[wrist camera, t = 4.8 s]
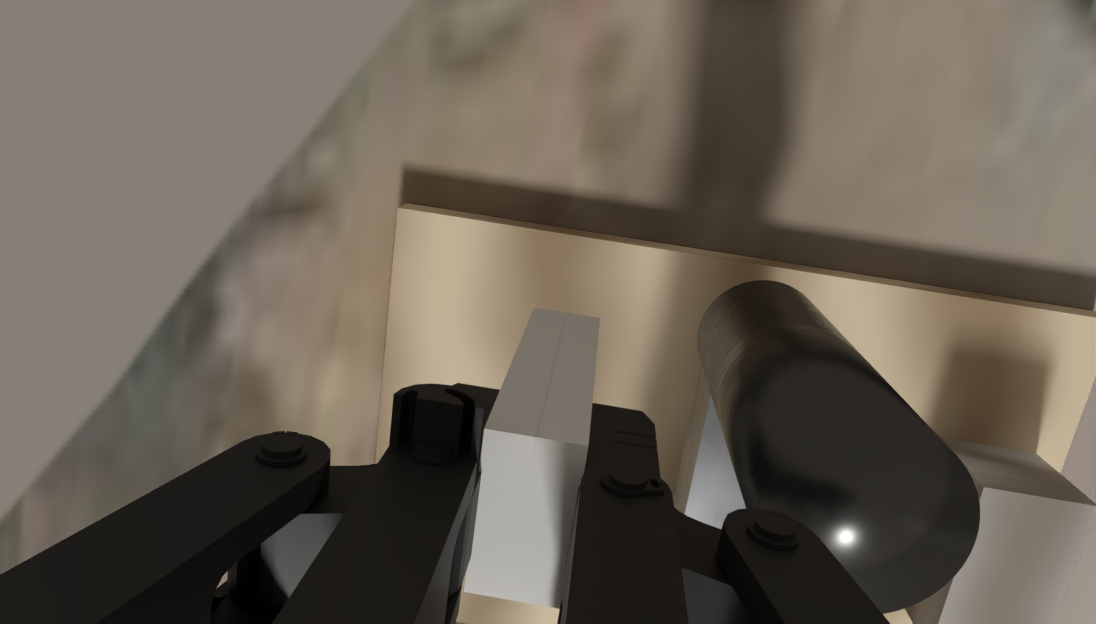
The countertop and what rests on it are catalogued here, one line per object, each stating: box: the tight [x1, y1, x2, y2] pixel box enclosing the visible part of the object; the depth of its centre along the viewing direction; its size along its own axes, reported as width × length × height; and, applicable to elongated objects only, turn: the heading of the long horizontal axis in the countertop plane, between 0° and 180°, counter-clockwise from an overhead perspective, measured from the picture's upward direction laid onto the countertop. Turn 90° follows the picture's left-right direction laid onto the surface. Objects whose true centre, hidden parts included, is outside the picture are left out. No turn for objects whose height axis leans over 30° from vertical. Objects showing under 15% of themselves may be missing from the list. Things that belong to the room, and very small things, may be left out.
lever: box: [673, 280, 980, 614], centre depth 21 cm, size 4×15×14 cm, turn 172°
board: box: [375, 203, 1096, 624], centre depth 27 cm, size 24×16×5 cm, turn 82°
